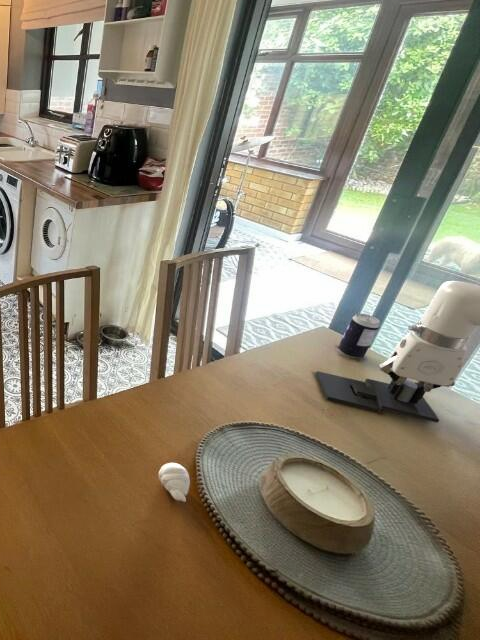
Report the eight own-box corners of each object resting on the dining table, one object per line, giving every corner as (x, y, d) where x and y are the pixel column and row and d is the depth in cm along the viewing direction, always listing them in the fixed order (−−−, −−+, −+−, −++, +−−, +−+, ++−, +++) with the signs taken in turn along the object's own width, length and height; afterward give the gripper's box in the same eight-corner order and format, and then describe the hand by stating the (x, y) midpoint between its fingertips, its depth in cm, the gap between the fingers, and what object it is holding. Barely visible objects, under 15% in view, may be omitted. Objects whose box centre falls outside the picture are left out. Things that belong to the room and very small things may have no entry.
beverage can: (360, 351, 117) (379, 316, 111) (365, 362, 112) (384, 327, 107) (335, 344, 119) (352, 310, 114) (338, 355, 115) (355, 320, 110)
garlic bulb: (163, 507, 77) (169, 488, 75) (154, 477, 82) (159, 459, 80) (193, 510, 76) (200, 492, 74) (183, 481, 82) (189, 462, 79)
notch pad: (363, 384, 105) (365, 382, 104) (379, 412, 97) (380, 409, 96) (315, 373, 109) (316, 370, 108) (326, 399, 100) (328, 396, 100)
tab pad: (416, 393, 101) (427, 376, 98) (437, 423, 92) (450, 405, 90) (347, 377, 106) (355, 360, 103) (361, 404, 98) (371, 386, 95)
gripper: (399, 335, 90) (363, 397, 98) (503, 355, 84) (456, 420, 92) (385, 317, 96) (353, 377, 104) (481, 335, 90) (438, 397, 98)
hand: (401, 396), depth 98 cm, fingers closed on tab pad, 2 cm apart
